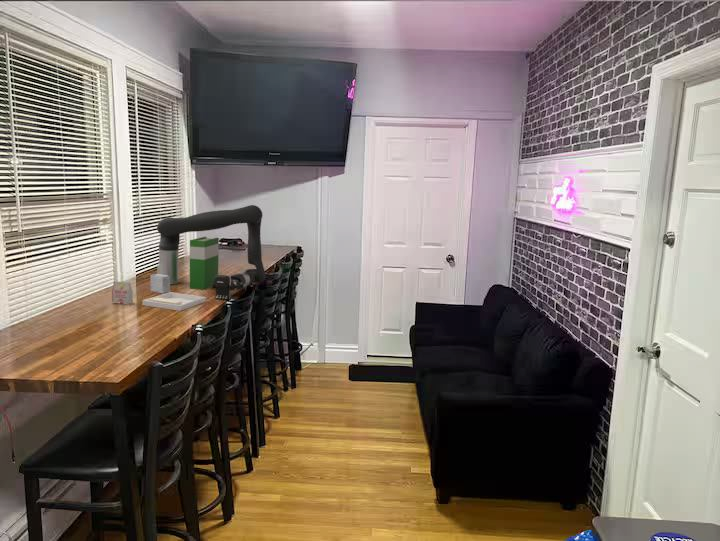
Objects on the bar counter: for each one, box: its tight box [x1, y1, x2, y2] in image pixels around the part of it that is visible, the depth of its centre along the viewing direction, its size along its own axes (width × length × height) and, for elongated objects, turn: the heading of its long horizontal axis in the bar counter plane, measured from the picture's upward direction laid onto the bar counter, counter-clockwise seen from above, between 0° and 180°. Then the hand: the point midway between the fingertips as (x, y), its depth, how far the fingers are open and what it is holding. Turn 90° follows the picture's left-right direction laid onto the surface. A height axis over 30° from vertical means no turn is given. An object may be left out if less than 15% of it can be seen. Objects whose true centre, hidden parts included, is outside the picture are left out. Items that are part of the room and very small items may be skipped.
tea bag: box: [111, 281, 134, 305], centre depth 203 cm, size 4×7×10 cm, turn 87°
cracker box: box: [151, 298, 182, 305], centre depth 203 cm, size 12×4×2 cm, turn 74°
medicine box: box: [149, 273, 171, 294], centre depth 228 cm, size 8×4×9 cm, turn 65°
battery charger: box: [214, 273, 231, 301], centre depth 223 cm, size 7×4×11 cm, turn 81°
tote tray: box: [142, 291, 207, 312], centre depth 209 cm, size 18×18×3 cm
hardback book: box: [189, 236, 220, 291], centre depth 248 cm, size 18×7×24 cm, turn 174°
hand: (221, 287), depth 222 cm, fingers open, 8 cm apart
